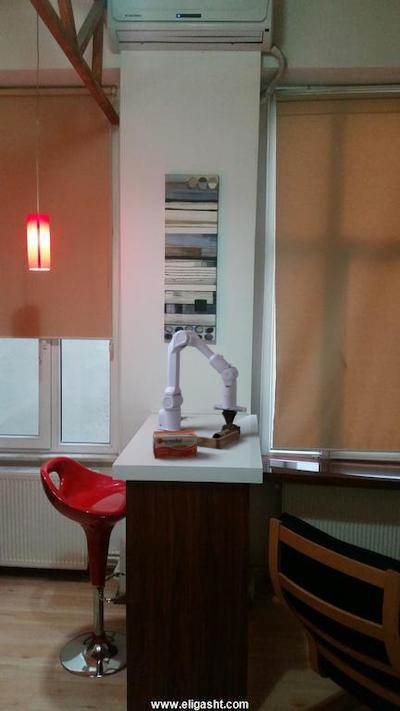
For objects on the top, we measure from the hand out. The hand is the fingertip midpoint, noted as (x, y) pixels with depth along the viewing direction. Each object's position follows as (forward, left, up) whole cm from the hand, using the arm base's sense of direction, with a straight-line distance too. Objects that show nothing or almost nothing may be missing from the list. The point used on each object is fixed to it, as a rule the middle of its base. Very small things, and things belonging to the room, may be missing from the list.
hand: (229, 428), depth 205 cm
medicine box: (-3, -39, -3) cm, 39 cm away
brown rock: (+3, -8, -3) cm, 9 cm away
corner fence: (+1, -15, -3) cm, 15 cm away
